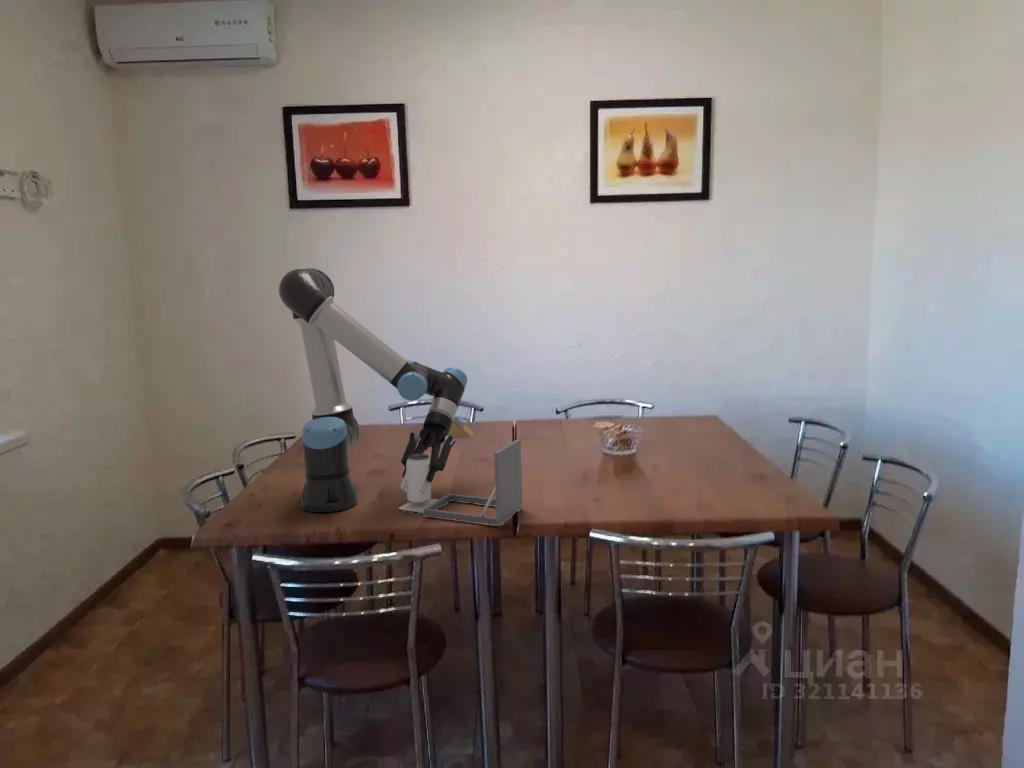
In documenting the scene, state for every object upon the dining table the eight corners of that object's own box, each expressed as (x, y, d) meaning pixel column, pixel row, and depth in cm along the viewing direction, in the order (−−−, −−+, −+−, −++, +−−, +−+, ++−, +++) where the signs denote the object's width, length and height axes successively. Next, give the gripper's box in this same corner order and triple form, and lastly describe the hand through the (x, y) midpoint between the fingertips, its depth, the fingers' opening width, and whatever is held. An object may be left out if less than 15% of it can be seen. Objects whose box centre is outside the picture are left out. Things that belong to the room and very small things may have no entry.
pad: (398, 510, 190) (398, 508, 190) (417, 498, 199) (417, 496, 199) (424, 514, 187) (424, 511, 187) (442, 502, 196) (442, 500, 196)
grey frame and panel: (423, 517, 185) (420, 446, 182) (449, 500, 197) (446, 433, 194) (500, 527, 176) (498, 453, 173) (522, 509, 189) (520, 439, 185)
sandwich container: (473, 437, 268) (472, 398, 266) (433, 439, 268) (431, 400, 266) (474, 432, 277) (472, 394, 274) (434, 433, 277) (433, 395, 274)
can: (402, 499, 193) (401, 456, 191) (421, 493, 198) (419, 451, 195) (417, 505, 189) (416, 461, 186) (436, 499, 193) (435, 456, 191)
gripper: (473, 426, 200) (447, 501, 188) (418, 422, 207) (389, 493, 195) (463, 412, 194) (436, 487, 182) (407, 408, 202) (377, 480, 190)
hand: (412, 490), depth 189 cm, fingers closed on can, 5 cm apart
